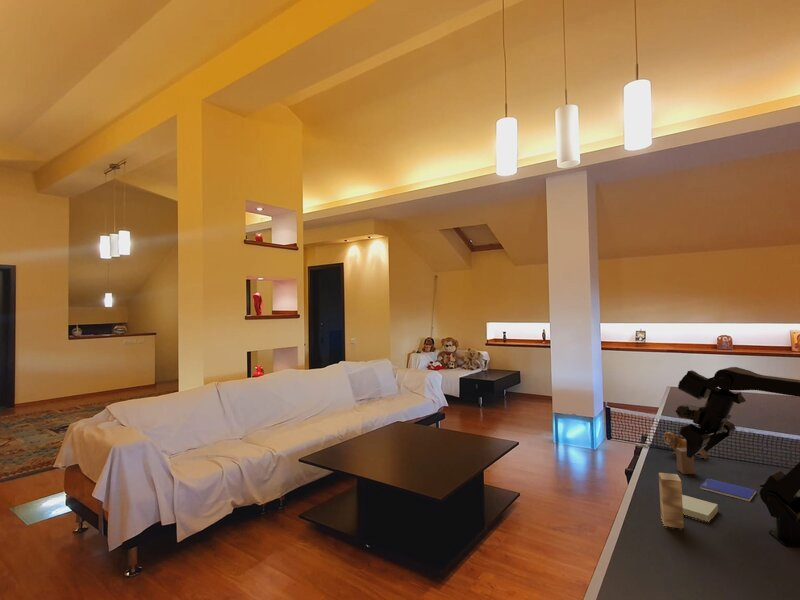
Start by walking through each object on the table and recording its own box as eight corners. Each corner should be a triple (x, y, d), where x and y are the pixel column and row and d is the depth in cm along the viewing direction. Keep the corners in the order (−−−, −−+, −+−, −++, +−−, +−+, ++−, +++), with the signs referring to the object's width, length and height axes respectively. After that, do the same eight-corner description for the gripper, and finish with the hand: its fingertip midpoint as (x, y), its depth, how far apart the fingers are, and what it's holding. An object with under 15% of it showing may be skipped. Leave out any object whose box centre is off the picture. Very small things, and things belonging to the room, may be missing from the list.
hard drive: (700, 485, 135) (749, 498, 126) (708, 477, 141) (755, 489, 131) (700, 490, 135) (749, 503, 126) (708, 482, 141) (756, 494, 131)
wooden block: (688, 469, 150) (687, 447, 150) (695, 474, 146) (694, 451, 146) (676, 470, 150) (675, 447, 150) (683, 474, 146) (681, 451, 146)
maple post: (679, 521, 117) (677, 474, 117) (683, 529, 113) (681, 480, 113) (661, 518, 118) (658, 472, 118) (664, 527, 114) (661, 479, 114)
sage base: (718, 513, 121) (717, 504, 121) (708, 524, 115) (708, 515, 115) (682, 502, 128) (681, 494, 128) (671, 513, 122) (670, 504, 122)
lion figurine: (666, 457, 162) (664, 433, 163) (662, 452, 167) (661, 429, 168) (711, 460, 158) (710, 436, 158) (706, 455, 163) (705, 431, 163)
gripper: (704, 389, 130) (686, 431, 135) (670, 398, 121) (652, 443, 126) (745, 409, 121) (724, 453, 126) (711, 420, 112) (690, 468, 117)
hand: (697, 453), depth 124 cm, fingers open, 9 cm apart
